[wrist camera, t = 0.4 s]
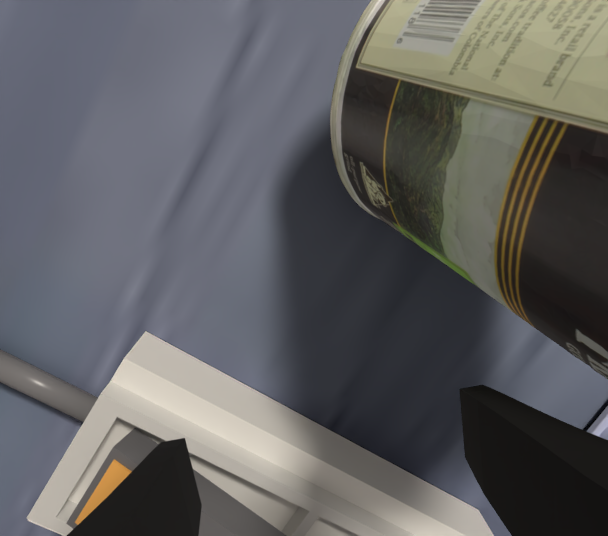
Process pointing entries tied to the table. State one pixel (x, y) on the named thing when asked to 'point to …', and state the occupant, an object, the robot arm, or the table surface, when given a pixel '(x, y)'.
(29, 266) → the table surface
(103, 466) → the rocker
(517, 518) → the robot arm
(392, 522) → the rocker switch box
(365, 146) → the coffee can
